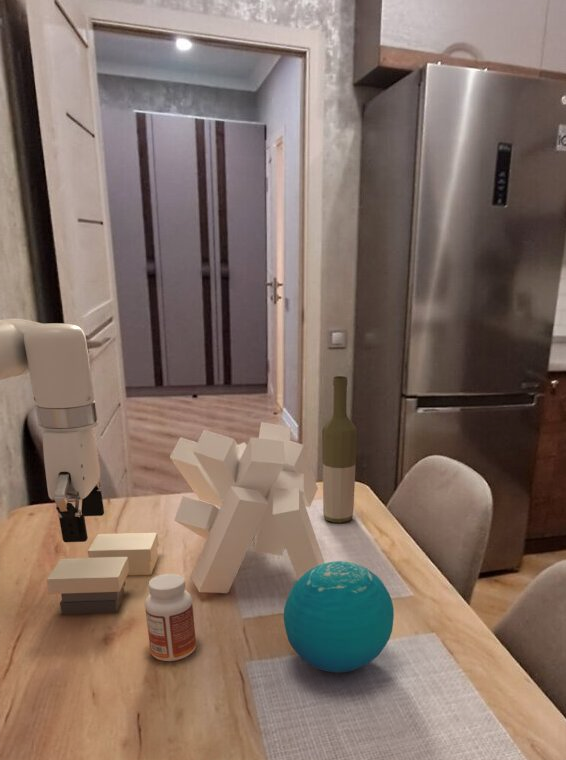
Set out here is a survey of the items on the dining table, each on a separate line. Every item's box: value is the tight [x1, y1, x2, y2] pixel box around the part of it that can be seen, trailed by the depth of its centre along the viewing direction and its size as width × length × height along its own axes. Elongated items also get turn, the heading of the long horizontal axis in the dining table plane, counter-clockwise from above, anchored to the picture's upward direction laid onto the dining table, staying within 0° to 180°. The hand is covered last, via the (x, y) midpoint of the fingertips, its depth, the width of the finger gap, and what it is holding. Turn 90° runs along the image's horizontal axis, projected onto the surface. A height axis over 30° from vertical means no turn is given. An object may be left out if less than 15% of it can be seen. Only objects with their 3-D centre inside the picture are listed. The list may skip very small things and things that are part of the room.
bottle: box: [321, 375, 358, 524], centre depth 136 cm, size 7×7×30 cm
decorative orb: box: [283, 560, 395, 674], centre depth 91 cm, size 15×15×15 cm
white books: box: [87, 532, 159, 576], centre depth 116 cm, size 10×7×5 cm
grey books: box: [59, 580, 126, 615], centre depth 104 cm, size 8×6×4 cm
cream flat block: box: [46, 557, 129, 595], centre depth 103 cm, size 10×7×2 cm
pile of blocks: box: [169, 421, 325, 594], centre depth 115 cm, size 35×30×35 cm
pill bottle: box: [144, 573, 197, 662], centre depth 92 cm, size 6×6×11 cm
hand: (84, 527), depth 100 cm, fingers open, 9 cm apart
